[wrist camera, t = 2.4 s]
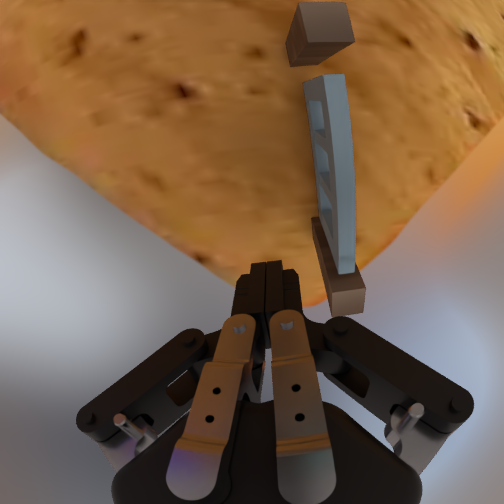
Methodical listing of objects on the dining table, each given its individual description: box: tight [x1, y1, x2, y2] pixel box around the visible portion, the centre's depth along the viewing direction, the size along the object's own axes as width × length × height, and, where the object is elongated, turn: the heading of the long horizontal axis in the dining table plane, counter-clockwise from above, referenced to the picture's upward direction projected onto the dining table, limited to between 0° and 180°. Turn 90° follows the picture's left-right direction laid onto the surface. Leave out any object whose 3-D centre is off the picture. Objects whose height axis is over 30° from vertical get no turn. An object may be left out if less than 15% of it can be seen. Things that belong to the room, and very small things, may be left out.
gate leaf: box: [303, 74, 356, 274], centre depth 19 cm, size 13×1×10 cm, turn 10°
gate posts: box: [286, 2, 366, 317], centre depth 19 cm, size 21×2×12 cm, turn 10°
